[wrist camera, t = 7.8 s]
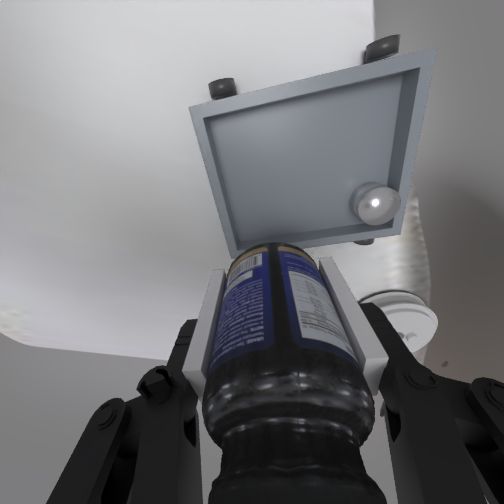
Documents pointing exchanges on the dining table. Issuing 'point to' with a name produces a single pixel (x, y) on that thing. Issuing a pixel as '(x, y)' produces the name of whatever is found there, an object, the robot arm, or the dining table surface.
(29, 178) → the dining table surface
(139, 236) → the dining table surface
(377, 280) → the dining table surface
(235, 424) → the pill bottle
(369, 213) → the metal part
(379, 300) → the lid
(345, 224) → the cart
